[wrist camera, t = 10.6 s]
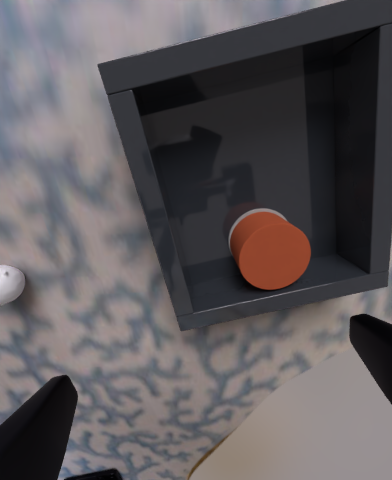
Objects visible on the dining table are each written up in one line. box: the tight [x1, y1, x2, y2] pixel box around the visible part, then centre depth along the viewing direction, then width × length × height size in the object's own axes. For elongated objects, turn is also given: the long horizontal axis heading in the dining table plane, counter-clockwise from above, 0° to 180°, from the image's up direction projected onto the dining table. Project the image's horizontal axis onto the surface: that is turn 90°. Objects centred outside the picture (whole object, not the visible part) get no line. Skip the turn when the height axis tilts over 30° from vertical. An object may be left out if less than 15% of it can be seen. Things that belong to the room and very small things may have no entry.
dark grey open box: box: [98, 0, 392, 331], centre depth 15 cm, size 15×14×4 cm
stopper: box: [230, 212, 311, 290], centre depth 16 cm, size 4×4×3 cm
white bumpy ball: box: [0, 265, 25, 306], centre depth 17 cm, size 3×3×3 cm
